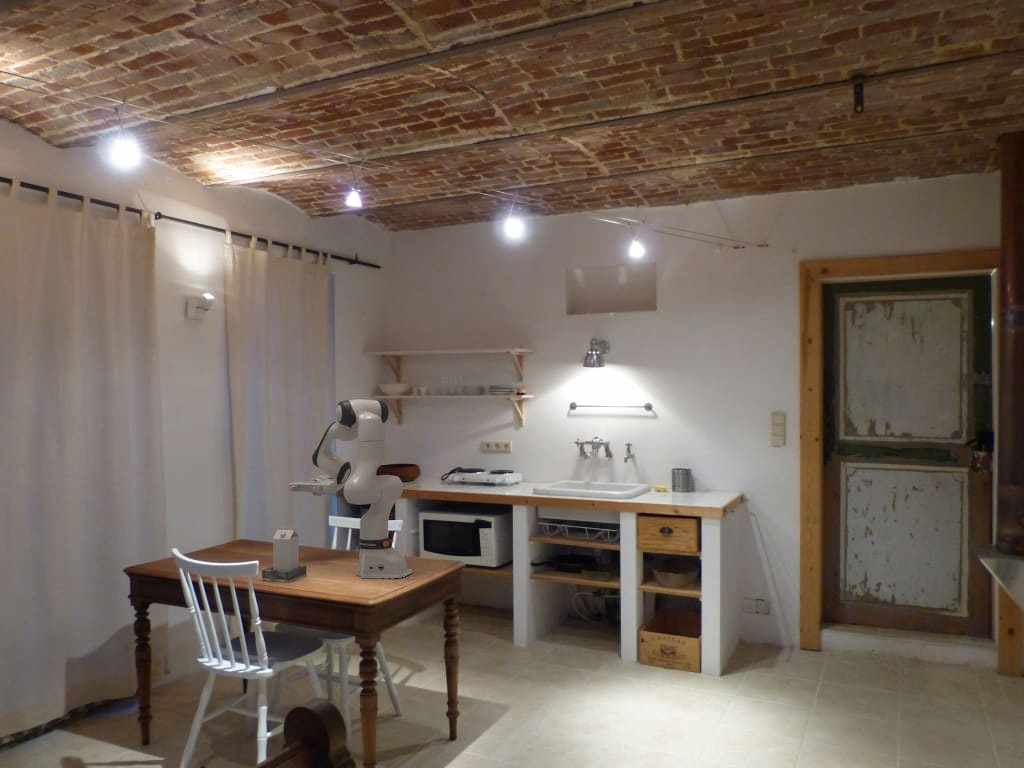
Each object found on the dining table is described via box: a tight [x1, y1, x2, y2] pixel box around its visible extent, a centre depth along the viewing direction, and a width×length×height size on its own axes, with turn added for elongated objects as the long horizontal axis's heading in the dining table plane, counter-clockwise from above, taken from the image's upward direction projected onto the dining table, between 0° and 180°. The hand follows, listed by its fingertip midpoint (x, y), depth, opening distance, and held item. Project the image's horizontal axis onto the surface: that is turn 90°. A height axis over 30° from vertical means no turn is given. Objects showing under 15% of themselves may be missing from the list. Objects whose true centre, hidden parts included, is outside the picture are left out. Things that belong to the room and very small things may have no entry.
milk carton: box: [272, 526, 300, 571], centre depth 298 cm, size 7×7×19 cm
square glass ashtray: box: [261, 564, 307, 583], centre depth 298 cm, size 12×12×4 cm
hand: (302, 489), depth 322 cm, fingers open, 8 cm apart
